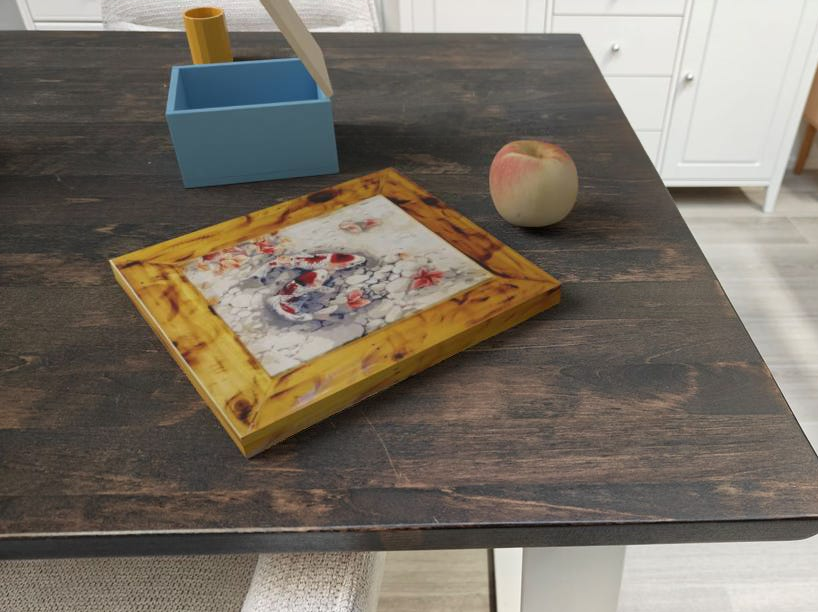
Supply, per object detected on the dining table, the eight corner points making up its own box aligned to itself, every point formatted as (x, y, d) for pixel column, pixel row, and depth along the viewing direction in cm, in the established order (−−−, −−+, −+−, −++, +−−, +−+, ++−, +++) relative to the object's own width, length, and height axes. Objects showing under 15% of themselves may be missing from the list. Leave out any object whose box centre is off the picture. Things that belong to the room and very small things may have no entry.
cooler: (185, 188, 80) (165, 114, 75) (189, 134, 90) (172, 66, 85) (339, 173, 84) (331, 101, 78) (327, 123, 94) (319, 56, 88)
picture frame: (561, 283, 65) (240, 438, 51) (559, 303, 66) (246, 459, 52) (391, 167, 81) (108, 260, 66) (392, 185, 82) (116, 279, 68)
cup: (185, 66, 107) (173, 15, 102) (210, 54, 111) (199, 4, 106) (217, 73, 105) (206, 21, 101) (241, 60, 109) (232, 9, 105)
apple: (476, 207, 79) (477, 136, 73) (552, 193, 81) (558, 123, 76) (509, 250, 73) (513, 175, 67) (589, 233, 75) (599, 160, 70)
